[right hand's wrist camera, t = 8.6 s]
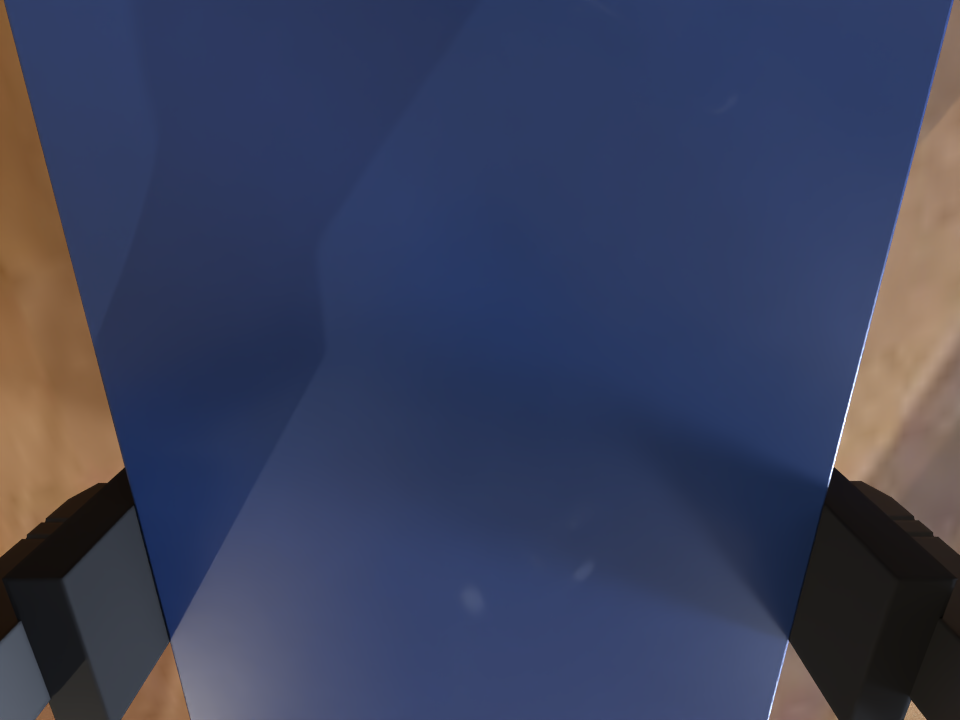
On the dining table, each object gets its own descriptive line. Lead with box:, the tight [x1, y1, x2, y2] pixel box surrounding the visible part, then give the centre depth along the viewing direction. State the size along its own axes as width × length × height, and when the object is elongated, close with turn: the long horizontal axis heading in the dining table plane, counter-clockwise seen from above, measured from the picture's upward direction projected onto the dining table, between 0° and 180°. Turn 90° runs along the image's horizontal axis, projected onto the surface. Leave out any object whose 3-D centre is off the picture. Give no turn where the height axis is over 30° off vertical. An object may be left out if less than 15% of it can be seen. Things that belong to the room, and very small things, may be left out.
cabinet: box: [4, 0, 954, 720], centre depth 11 cm, size 17×10×8 cm, turn 0°
